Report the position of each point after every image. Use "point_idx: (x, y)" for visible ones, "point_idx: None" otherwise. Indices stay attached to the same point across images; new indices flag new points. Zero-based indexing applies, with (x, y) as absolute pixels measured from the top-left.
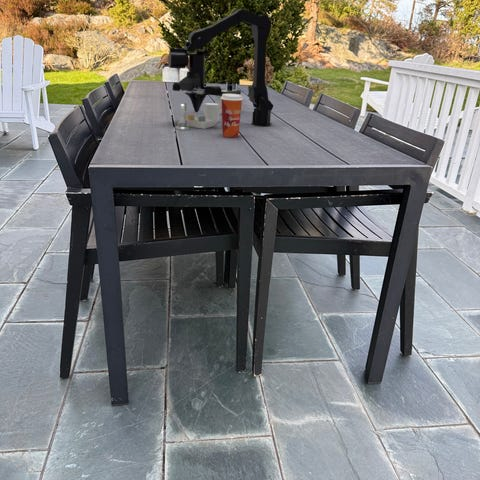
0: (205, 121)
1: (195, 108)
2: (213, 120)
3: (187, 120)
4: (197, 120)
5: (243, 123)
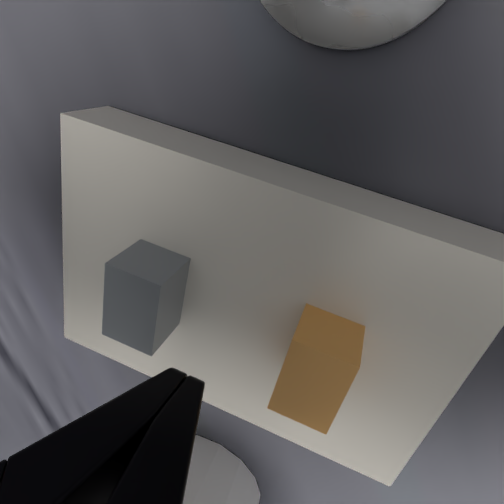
0: (110, 257)
1: (156, 413)
2: (77, 340)
3: (343, 242)
4: (214, 288)
5: (6, 435)
